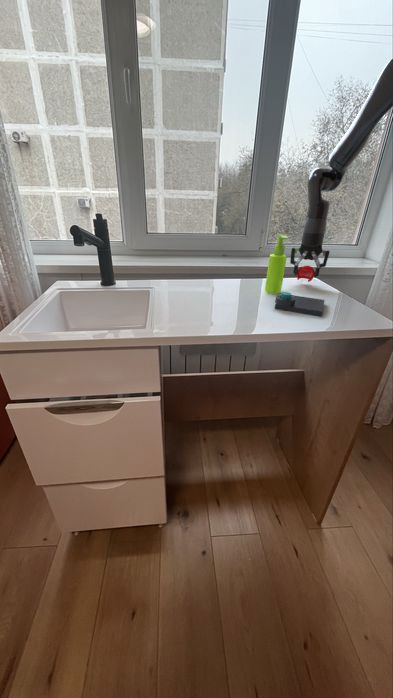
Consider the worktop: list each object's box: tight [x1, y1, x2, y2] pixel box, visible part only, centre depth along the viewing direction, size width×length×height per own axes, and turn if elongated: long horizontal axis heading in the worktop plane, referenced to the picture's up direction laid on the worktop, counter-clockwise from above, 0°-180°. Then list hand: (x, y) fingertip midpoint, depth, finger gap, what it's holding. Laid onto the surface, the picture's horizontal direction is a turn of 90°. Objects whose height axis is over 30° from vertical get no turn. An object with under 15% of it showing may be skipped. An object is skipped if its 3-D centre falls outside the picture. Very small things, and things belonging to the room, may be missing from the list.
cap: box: [296, 265, 316, 283], centre depth 113 cm, size 8×6×6 cm
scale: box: [274, 294, 326, 318], centre depth 92 cm, size 14×12×4 cm
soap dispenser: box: [264, 234, 289, 295], centre depth 102 cm, size 6×7×20 cm
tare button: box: [280, 291, 292, 300], centre depth 90 cm, size 3×3×2 cm
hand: (305, 276), depth 114 cm, fingers closed on cap, 7 cm apart
